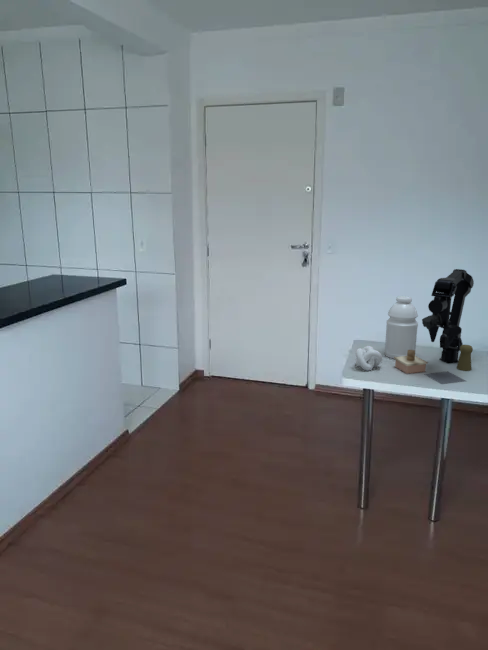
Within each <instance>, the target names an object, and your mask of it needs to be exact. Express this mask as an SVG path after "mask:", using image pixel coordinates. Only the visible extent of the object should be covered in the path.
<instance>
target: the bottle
mask: <svg viewBox="0 0 488 650" xmlns="http://www.w3.org/2000/svg"><path fill="white" fill-rule="evenodd" d="M395 300H396V302H395V303H393V305H392V306H390V308H389V310H388V311H387V312H388V313H387V315H388V316H389V318H388V319H387V320H386V328H385V329H386V330H385V344H384V345H385V346H384V355H385V356H386V357H388V358H389V359H393V360H395V359H394V357H401V356H407V351H408V350H415V351H416V349H417V339H418V338H417V336H418V335H417V334H418V327H419V322H418V321H417V320H416V319H417V318H418V317H419V315H418V311H417V310H416V307H415V306H414V304H413V303H412V300H413V299H412V297H411V296H406V295H405V296H404V295H401V296H399V295H398V296H397V297H396V299H395Z"/></svg>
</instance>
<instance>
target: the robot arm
mask: <svg viewBox="0 0 488 650" xmlns="http://www.w3.org/2000/svg"><path fill="white" fill-rule="evenodd" d="M474 281H475V280H474V278H473V276H472V275H471V274H469V273H468V272H467V270H465V269H461V268H456V269H455V268H454V269H453V271H452V272H451V273H450V274H448V275H447V277H440V278H438V279H437V280H436V281H435V283H434V287H433V289H432V291H431V297H433V299H432V300H431V301H430V302H429V303H428V306H427V307H428V308H427V309H428V310H429V312H430V313H432V314H431V315H428V316H426V317H424V318H422V319H421V323H422V326H423V328H426V329H427V330H428V333H429V337H430V341H431V343H434V342H435V341H436V338H437V335H438V333H439V332H438V331H439V328H441V329H442V333H441V335H440V337H439V348H441V349H442V351H441V357H440V358H439V361H442V362H444V363H445V364H458V361H459V353H460V346H461V345H464V344H463V340H462V335H461V334H462V328H461V326H460V325H461V321H462V320H461V318H462V315H463V314H462V313H463V310H464V305H465V301H466V298H467V296H468V295H469V294H470V293H471V291H472V288H473V287H474V284H475V283H474ZM452 298H453V301H452Z"/></svg>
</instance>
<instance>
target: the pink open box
mask: <svg viewBox="0 0 488 650" xmlns="http://www.w3.org/2000/svg"><path fill="white" fill-rule="evenodd" d="M394 367H395V368H396V369H398V370H400V371H401V372H403V373H404V374H406V375H408V374H418V373H425V372H426V368H427V364H423V365H413V366H406V365H404V364H402V363H400V362H399V361H397V360H395V363H394Z"/></svg>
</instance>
